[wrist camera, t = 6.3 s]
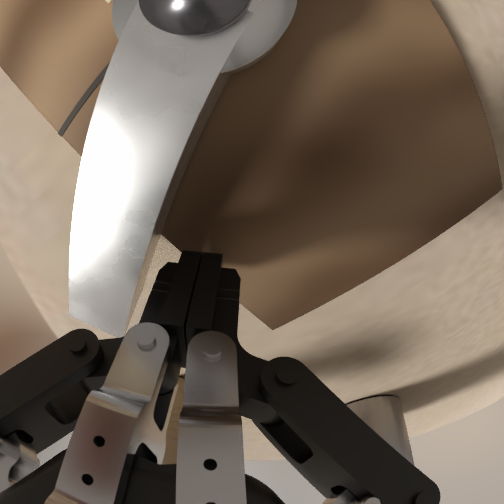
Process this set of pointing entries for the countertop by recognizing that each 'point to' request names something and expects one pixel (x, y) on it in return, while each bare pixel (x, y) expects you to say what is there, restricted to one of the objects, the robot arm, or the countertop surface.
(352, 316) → the countertop surface
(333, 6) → the board
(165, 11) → the latch bar
